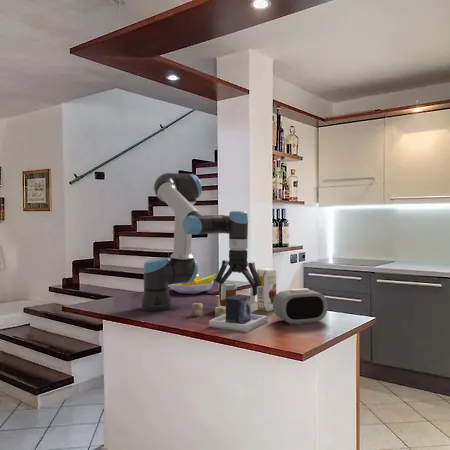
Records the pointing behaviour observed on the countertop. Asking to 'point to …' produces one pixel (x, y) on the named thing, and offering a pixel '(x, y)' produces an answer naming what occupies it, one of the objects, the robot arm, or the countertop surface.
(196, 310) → the beech post
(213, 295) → the countertop surface
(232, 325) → the tray
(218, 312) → the beech cube
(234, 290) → the disposable coffee cup
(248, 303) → the small box
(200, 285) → the fruit bowl
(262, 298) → the juice carton
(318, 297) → the alarm clock
